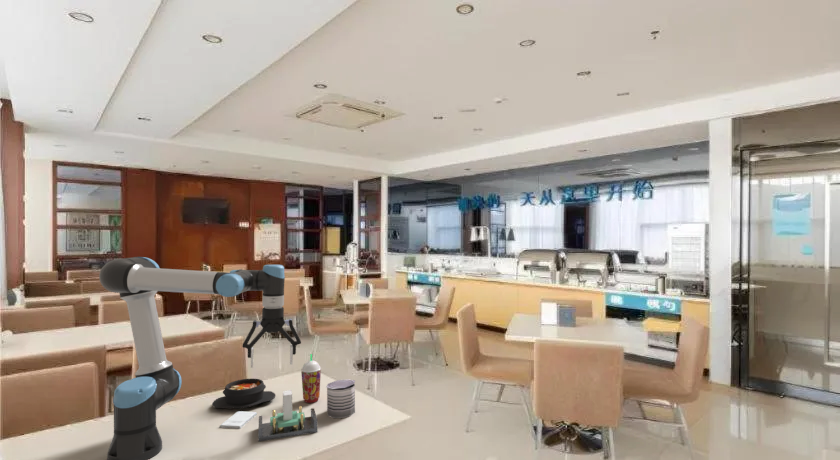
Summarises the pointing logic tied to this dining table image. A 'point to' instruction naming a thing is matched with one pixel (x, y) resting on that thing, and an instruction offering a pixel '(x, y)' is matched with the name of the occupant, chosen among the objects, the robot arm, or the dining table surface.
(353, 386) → the can
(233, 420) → the external hard drive
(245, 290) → the robot arm
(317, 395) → the smoothie
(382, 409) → the dining table surface
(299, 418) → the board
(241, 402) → the casserole
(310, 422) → the chassis
